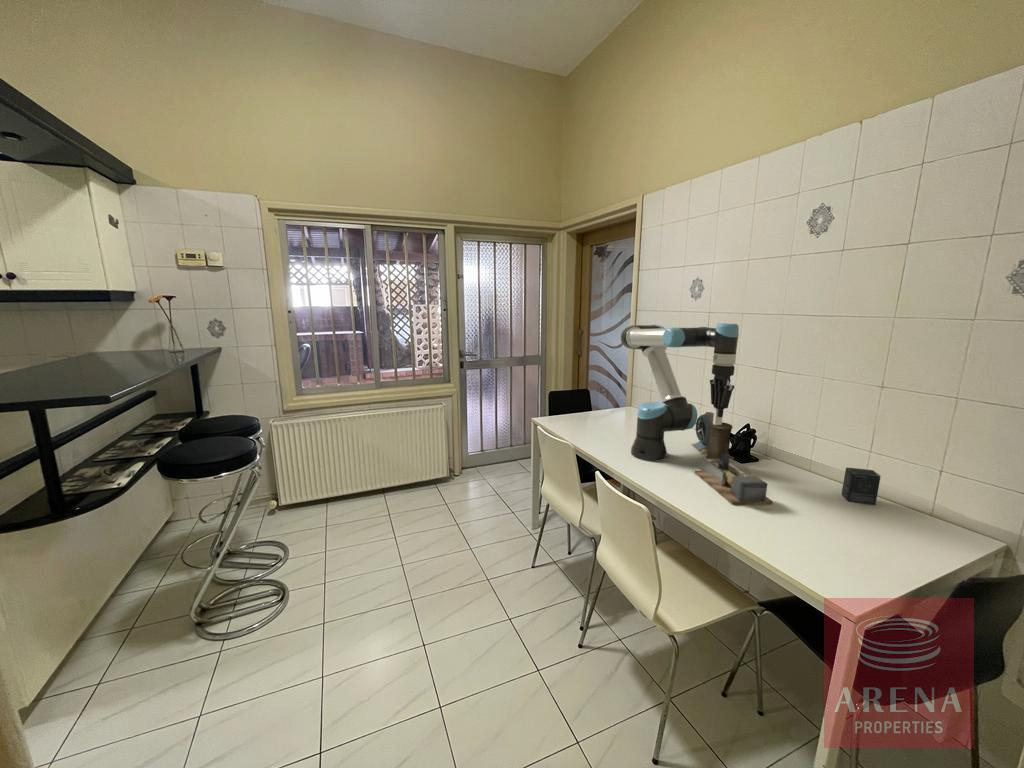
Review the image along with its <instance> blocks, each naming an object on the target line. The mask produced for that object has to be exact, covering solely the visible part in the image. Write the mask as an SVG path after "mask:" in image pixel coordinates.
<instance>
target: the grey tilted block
mask: <svg viewBox="0 0 1024 768" xmlns="http://www.w3.org/2000/svg"><path fill="white" fill-rule="evenodd" d="M719 459H720V458H714V459H706V458H703V459H702V468H701V469H702V471H703V472H705V473H706V474H707V475H708V476H710V477H711V478H712V479H713V480H715V481H716V482H717V483H718V484H720V485H721V486H725V480H726V473H725V472H724V471H723V470H721V469H720V468H719V467H717V466H716V465H714V464H713V462H716V463H718V464H719ZM728 471H729V472H731V473H732V474H734V475H735V476H745V472H743V471H742V470H740V469H739V468H738V467H736V466H735V465H733V464H732V463H731V462H729V467H728Z"/></svg>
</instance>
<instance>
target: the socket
mask: <svg viewBox="0 0 1024 768" xmlns="http://www.w3.org/2000/svg"><path fill="white" fill-rule="evenodd" d="M767 490H768V482H766V481H764V480H763V479H761V478H760V477H758V476H757V475H744V476H732V484H731V492H730V494H731V495H733V496H734V497H735V498H736V499H738V500H739V501H740V502H765V499H766V497H767Z"/></svg>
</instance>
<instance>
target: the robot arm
mask: <svg viewBox="0 0 1024 768" xmlns="http://www.w3.org/2000/svg"><path fill="white" fill-rule="evenodd" d="M739 332H740V330H739V325H738V324H737V323H727V322H726V323H722V322H721V323H717V324H716V327H709V326H708V327H707V326H699V327H669V328H668V327H667V328H666V327H664V326H662V325H660V324H659V325H657V324H650V325H648V324H646V325H645V324H644V325H643V324H642V325H639V324H638V325H629V326H627V327H625V328H624V329H623V330H622V332H621V335H620V343H621V344H622V345H623V346H624V347H625V348H627V349H631V350H641V353H642V355H643V356H644V357H647V360H648V363H649V366H650V368H651V372H652V375H653V378H654V380H655V384H656V388H657V390H658V392H659V396H660V399H661V401H648V402H644V403H641V404H640V405H639V406H638V409H637V414H636V416H637V419H636V432H635V433H636V435H635V438H634V441H633V443H632V446H631V448H630V454H631V455H632V456H633V457H634V458H637V459H640V460H645V461H650V462H656V461H658V462H659V461H664V460H665V459H666V458H667V456H668V455H667V454H668V452H667V451H668V450H667V447H666V443H665V432H676V431H687V430H691V429H693V428H694V426H696V422H697V419H698V410H697V407H696V406H695V405H694V404H693V403H688V402H689V401H688V400H687V398H686V397H685V396H683V395H682V394H681V392H680V389H679V385H678V383H677V380H676V377H675V374H674V372H673V369H672V366H671V363H670V361H669V358H668V355H667V353H666V350H667V349H668V348H672V349H673V348H689V347H690V348H696V347H699V348H701V347H706V348H707V347H708V348H713V355H712V358H713V359H712V363H713V364H712V366H711V374H712V375H714V376H713V379H709V385H710V404H711V405H713V408H714V409H713V413H714V418H713V424H714V425H722V422H723V416H724V411H725V409H728V408H729V404H730V401H731V397H732V395H733V391H734V389H735V385H734V384H731V382H732V381H731V376H734V375H735V364H736V360H737V358H736V357H737V350H738V340H739V334H740V333H739Z"/></svg>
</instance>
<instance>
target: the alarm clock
mask: <svg viewBox="0 0 1024 768" xmlns="http://www.w3.org/2000/svg"><path fill="white" fill-rule="evenodd" d="M713 418H714V412H712V411H711V412H710V411H707V412H705V413H703V414H701V415H699V416H697V420H696V424H695V434H696V437H697V440H698V442H694V443H691V444H690V445H691V446H692V447H693V448H694V449H695V450H696V451H698V452H699V453H700V454H701V455H707V451H708V444H709V435H710V434H709V433H710V425H709V424H710V423H711V422H713Z"/></svg>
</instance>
